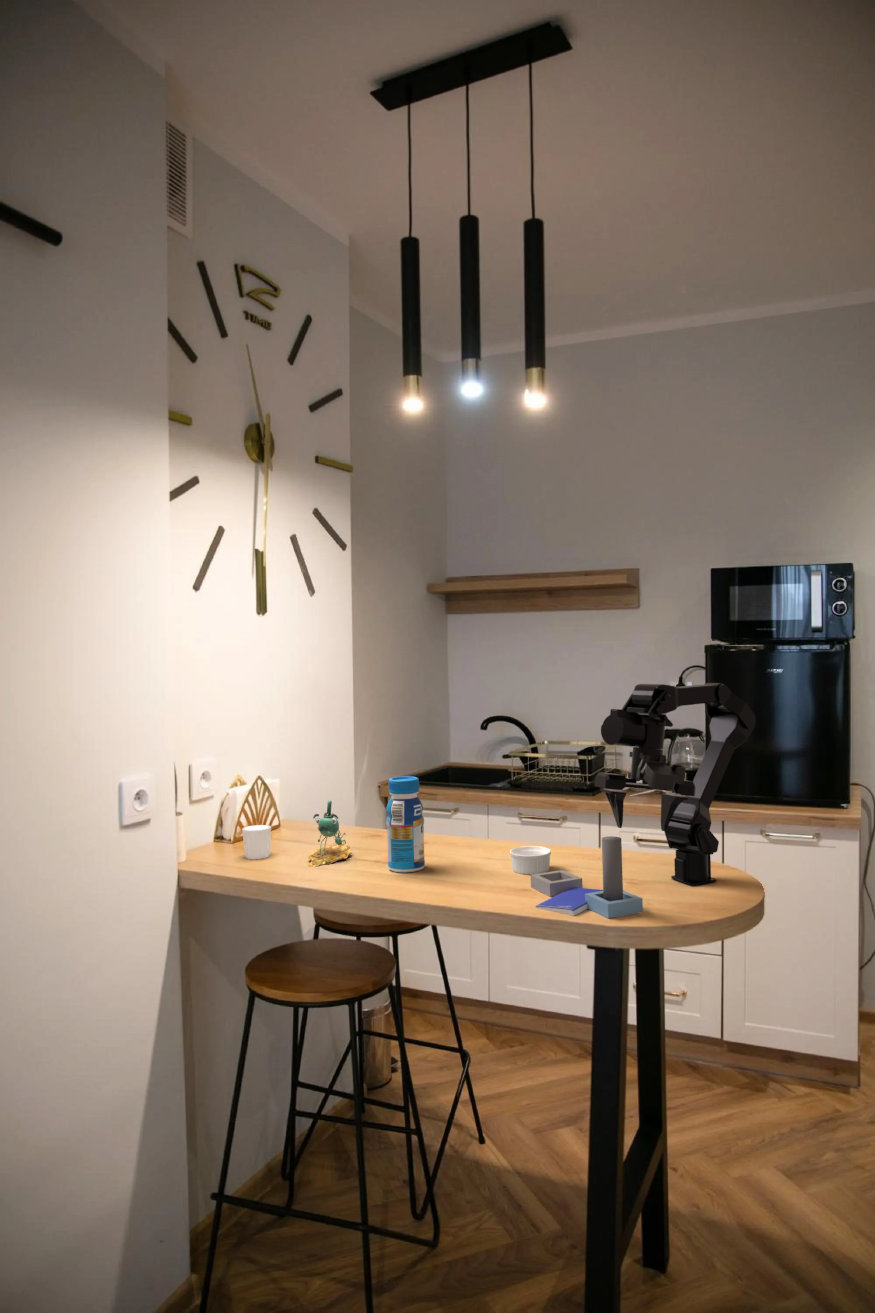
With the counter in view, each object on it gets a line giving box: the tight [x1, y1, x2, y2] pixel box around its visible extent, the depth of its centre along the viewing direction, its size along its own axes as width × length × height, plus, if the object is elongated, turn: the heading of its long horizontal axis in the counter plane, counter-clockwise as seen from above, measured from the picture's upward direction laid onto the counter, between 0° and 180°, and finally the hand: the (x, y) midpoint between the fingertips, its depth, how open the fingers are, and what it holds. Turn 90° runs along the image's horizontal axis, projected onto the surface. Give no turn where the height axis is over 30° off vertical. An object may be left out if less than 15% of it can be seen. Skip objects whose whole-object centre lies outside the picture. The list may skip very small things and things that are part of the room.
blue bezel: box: [585, 889, 644, 919], centre depth 157 cm, size 7×7×2 cm
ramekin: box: [509, 845, 552, 876], centre depth 187 cm, size 9×9×4 cm
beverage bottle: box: [385, 775, 426, 873], centre depth 191 cm, size 8×8×20 cm
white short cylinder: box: [241, 824, 272, 860], centre depth 207 cm, size 7×7×7 cm
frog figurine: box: [307, 799, 352, 868], centre depth 203 cm, size 10×18×15 cm, turn 155°
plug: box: [601, 836, 624, 901], centre depth 157 cm, size 4×4×13 cm
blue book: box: [535, 887, 603, 917], centre depth 162 cm, size 2×8×12 cm
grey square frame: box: [530, 869, 584, 897], centre depth 172 cm, size 7×7×2 cm
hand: (641, 829), depth 166 cm, fingers open, 9 cm apart
